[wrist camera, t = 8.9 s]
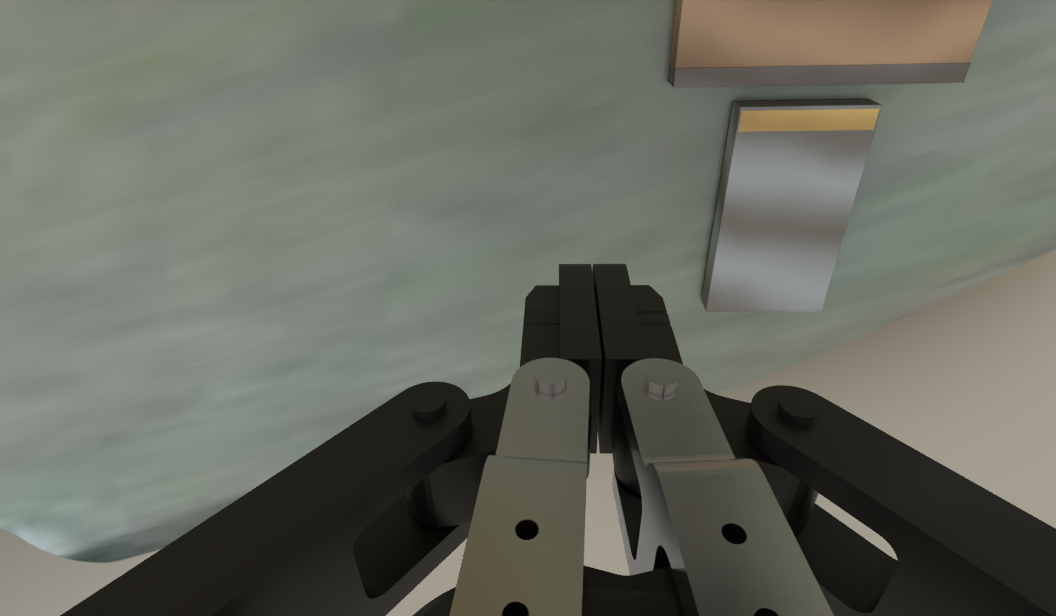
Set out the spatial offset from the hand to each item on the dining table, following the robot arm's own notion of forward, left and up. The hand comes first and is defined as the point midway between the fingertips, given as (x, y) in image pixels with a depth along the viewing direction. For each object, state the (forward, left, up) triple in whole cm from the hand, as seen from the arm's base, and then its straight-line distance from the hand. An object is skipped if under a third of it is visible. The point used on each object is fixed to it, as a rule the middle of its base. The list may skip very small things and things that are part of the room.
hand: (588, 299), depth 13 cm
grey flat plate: (+8, +14, -25) cm, 30 cm away
